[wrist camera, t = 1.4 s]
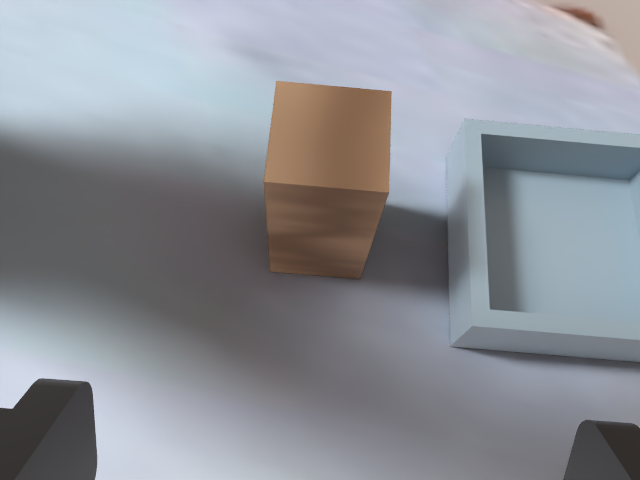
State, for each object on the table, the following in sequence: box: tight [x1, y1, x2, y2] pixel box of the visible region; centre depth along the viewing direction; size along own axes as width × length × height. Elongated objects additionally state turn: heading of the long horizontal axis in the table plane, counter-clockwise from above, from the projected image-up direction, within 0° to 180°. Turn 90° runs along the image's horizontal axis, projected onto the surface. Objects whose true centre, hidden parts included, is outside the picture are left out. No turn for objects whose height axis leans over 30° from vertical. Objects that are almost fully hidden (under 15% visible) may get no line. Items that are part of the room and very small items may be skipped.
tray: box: [446, 119, 640, 362], centre depth 29 cm, size 11×11×4 cm
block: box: [264, 81, 391, 279], centre depth 26 cm, size 4×4×9 cm
